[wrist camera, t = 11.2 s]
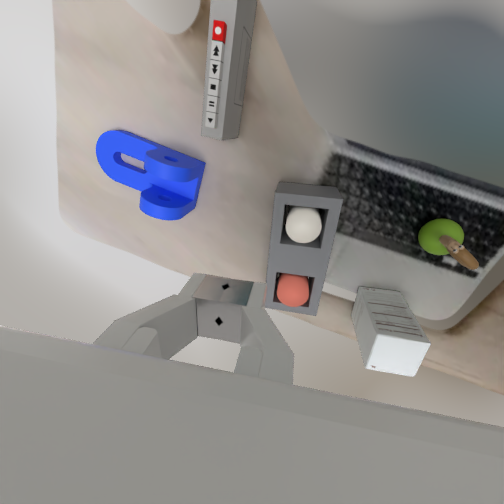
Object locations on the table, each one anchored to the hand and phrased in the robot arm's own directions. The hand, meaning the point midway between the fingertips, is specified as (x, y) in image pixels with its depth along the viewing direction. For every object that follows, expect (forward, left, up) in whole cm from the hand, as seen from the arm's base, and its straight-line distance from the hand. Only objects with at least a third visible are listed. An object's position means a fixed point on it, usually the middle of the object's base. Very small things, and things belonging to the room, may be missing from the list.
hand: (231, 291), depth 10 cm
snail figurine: (-24, +7, -33) cm, 42 cm away
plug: (-4, +7, -32) cm, 33 cm away
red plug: (-4, +17, -31) cm, 36 cm away
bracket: (+23, +2, -34) cm, 41 cm away
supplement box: (-20, +23, -33) cm, 45 cm away
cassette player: (+8, -12, -33) cm, 36 cm away
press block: (-4, +12, -33) cm, 35 cm away
